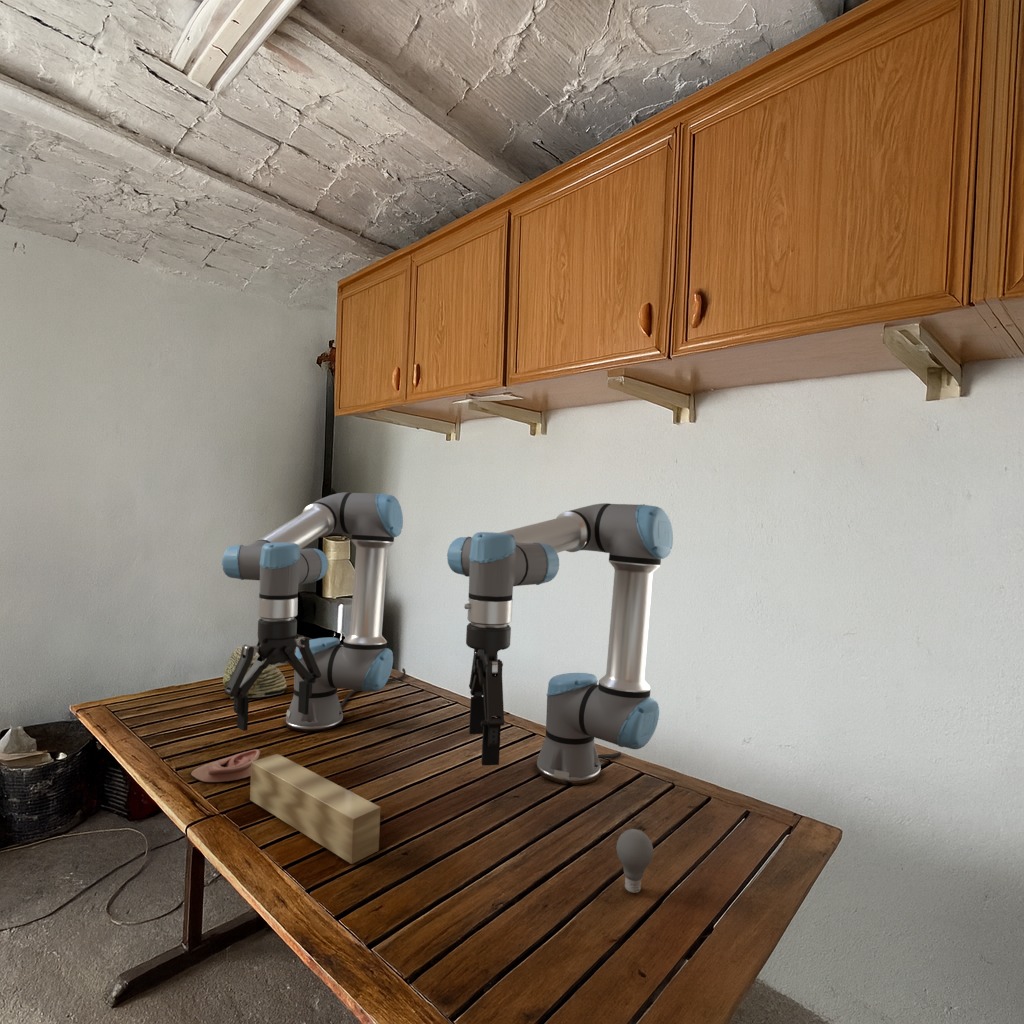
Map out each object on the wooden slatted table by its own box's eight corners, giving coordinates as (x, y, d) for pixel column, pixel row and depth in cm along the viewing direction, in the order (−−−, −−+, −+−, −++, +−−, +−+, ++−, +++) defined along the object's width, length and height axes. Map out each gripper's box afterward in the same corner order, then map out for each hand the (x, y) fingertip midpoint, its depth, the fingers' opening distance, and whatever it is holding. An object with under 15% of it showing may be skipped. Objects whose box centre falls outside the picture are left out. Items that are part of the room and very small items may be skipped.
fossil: (218, 695, 195) (220, 647, 195) (278, 685, 208) (279, 640, 207) (228, 703, 189) (230, 653, 188) (289, 692, 201) (290, 645, 201)
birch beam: (249, 800, 131) (251, 761, 131) (276, 790, 136) (277, 753, 136) (351, 864, 110) (353, 819, 110) (378, 850, 115) (380, 806, 114)
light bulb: (610, 879, 108) (613, 822, 108) (644, 879, 109) (647, 822, 109) (619, 902, 102) (622, 840, 102) (655, 901, 103) (658, 840, 103)
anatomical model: (182, 760, 139) (216, 741, 150) (181, 778, 139) (216, 758, 150) (236, 768, 136) (267, 748, 147) (235, 786, 136) (266, 765, 147)
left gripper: (319, 609, 142) (316, 702, 143) (208, 622, 123) (204, 730, 123) (339, 613, 137) (336, 711, 138) (227, 628, 118) (223, 741, 118)
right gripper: (457, 610, 119) (452, 722, 119) (478, 639, 94) (472, 780, 95) (497, 610, 120) (491, 721, 121) (527, 639, 96) (520, 778, 96)
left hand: (273, 720), depth 131 cm, fingers open, 13 cm apart
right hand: (483, 748), depth 108 cm, fingers open, 13 cm apart
